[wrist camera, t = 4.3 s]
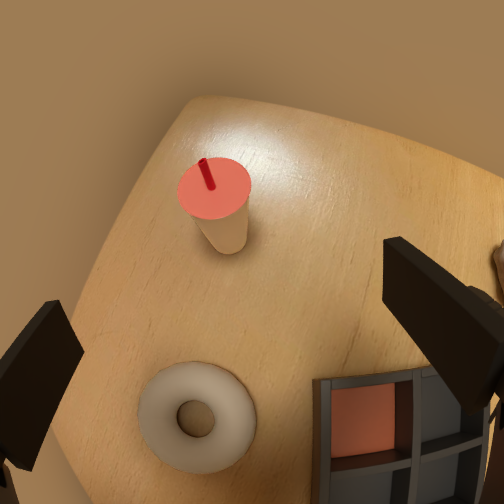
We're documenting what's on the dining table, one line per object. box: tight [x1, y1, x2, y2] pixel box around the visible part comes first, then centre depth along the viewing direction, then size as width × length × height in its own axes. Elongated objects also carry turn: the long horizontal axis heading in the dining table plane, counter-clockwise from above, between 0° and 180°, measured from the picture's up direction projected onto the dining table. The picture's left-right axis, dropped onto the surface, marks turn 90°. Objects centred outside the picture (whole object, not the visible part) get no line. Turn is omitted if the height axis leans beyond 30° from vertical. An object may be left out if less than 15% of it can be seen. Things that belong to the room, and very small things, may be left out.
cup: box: [178, 158, 251, 254], centre depth 25 cm, size 5×5×12 cm
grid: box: [311, 365, 490, 504], centre depth 20 cm, size 15×15×5 cm
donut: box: [137, 361, 257, 474], centre depth 23 cm, size 10×4×10 cm
